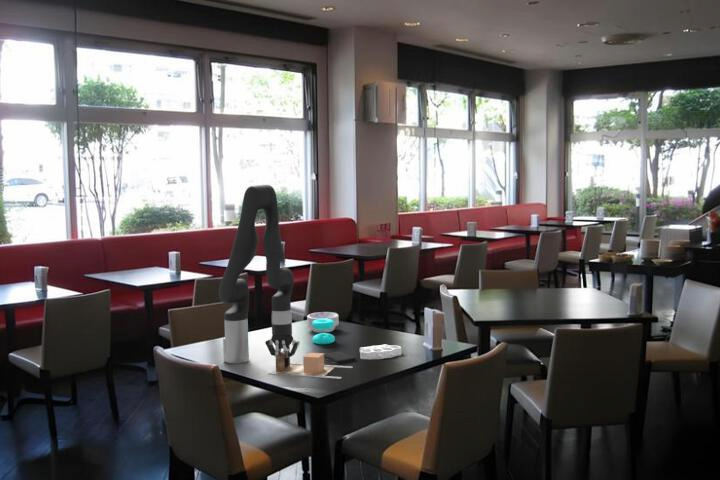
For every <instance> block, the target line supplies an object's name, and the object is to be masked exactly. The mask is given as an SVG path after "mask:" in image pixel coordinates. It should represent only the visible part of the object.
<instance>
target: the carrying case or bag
mask: <svg viewBox="0 0 720 480" xmlns="http://www.w3.org/2000/svg"><path fill="white" fill-rule="evenodd" d="M325 360H326V361H327V362H330V363H332V364H335V365H338V366H342V365H347V364H352V363H356V362H358V359H357V358H356V357H355V356H353V355H350V354H349V353H345V352H342V351H333V352H326V353H324V361H325Z"/></svg>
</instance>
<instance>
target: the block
mask: <svg viewBox="0 0 720 480" xmlns="http://www.w3.org/2000/svg"><path fill="white" fill-rule="evenodd" d="M324 354H325V353H322V352H321V353H320V352H308V353H306V354H305V355H303V359H302V361H303V363H302V364H304V365H303V366H304V373H318V374H319V373H320V372H322V371H323V370H324V365H325V359H324Z"/></svg>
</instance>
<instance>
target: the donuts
mask: <svg viewBox="0 0 720 480" xmlns="http://www.w3.org/2000/svg"><path fill="white" fill-rule="evenodd" d="M312 326H313V327H314V328H316V329H320V330H325V329H330V328H332V327H333V326H334V321H333V320H331V319H317V320H314V321H313V322H312ZM335 339H336V338H335V336H334V334H331V333H329V332H328V333H317V334H315V335H313V337H312V343H314V344H316V345H329V344H332V343H334V342H335Z"/></svg>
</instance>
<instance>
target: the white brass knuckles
mask: <svg viewBox="0 0 720 480" xmlns="http://www.w3.org/2000/svg"><path fill="white" fill-rule="evenodd" d="M358 349H359V350H358V351H359V355H360V359H361V360H384V359H391V358H394V357H397V356H402V347H401V346H400V345H397V344H396V345H389V344H385V343H383V344H380V345H371V346H364V347H362V346H361V347H359V348H358Z"/></svg>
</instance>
